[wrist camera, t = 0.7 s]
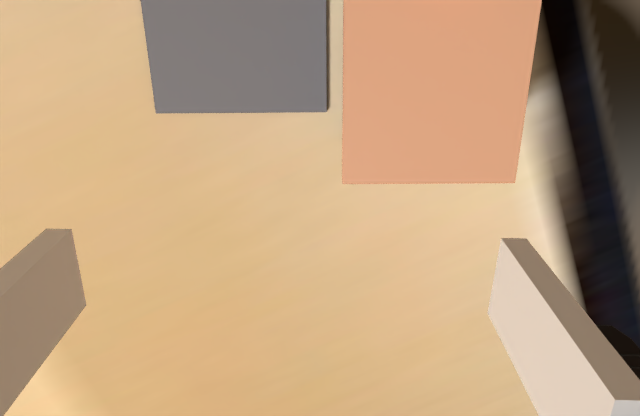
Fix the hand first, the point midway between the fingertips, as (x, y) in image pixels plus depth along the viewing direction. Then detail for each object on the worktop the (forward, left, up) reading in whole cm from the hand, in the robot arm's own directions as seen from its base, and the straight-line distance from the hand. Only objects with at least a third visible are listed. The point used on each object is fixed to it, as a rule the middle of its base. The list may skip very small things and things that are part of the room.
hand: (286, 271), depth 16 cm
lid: (-6, +8, -19) cm, 21 cm away
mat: (-8, -5, -25) cm, 27 cm away
